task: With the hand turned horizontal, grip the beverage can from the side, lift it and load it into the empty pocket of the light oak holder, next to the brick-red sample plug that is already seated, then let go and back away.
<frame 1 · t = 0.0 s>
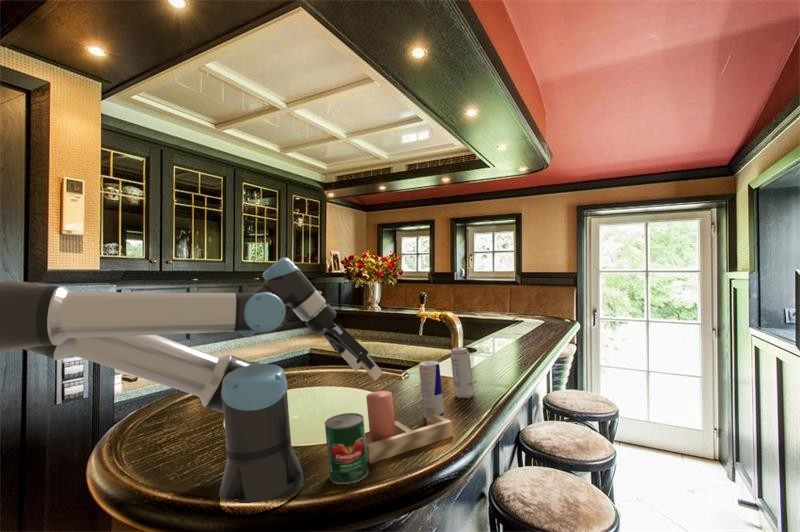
hand: (368, 372, 98), 15 cm above the countertop, tool tilted 35°, fingers open, 13 cm apart
holder: (402, 441, 89), on the countertop
energy drink can: (464, 396, 118), on the countertop
beverage can: (434, 418, 103), on the countertop
canned tomato: (349, 475, 76), on the countertop
sample plug: (383, 447, 87), resting in holder
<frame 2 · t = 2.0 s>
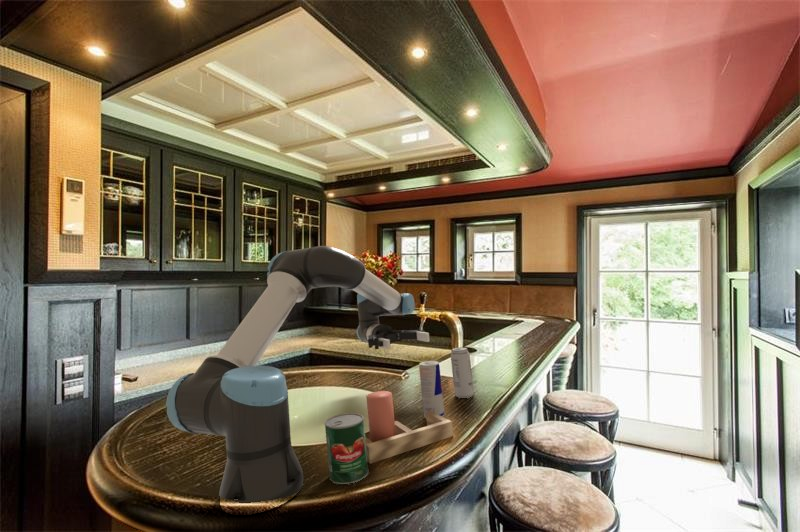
hand: (409, 340, 113), 20 cm above the countertop, tool horizontal, fingers open, 13 cm apart
nothing on the countertop moved.
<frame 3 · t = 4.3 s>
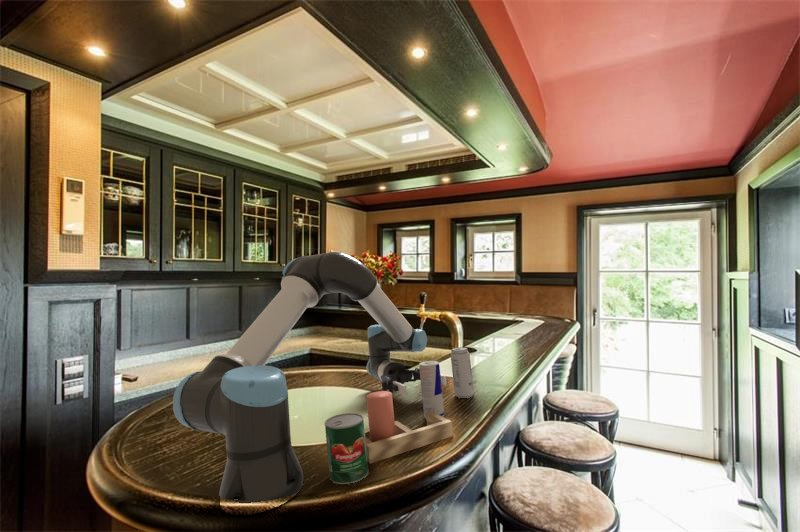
hand: (425, 385, 107), 8 cm above the countertop, tool horizontal, fingers open, 13 cm apart
nothing on the countertop moved.
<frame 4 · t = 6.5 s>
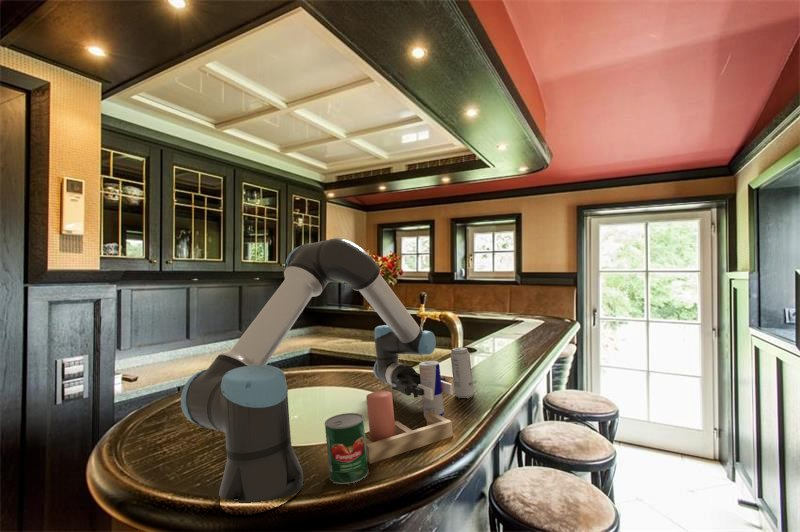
hand: (441, 391, 98), 8 cm above the countertop, tool horizontal, fingers closed on beverage can, 5 cm apart
beverage can: (434, 418, 103), on the countertop, touching gripper
everything else where it was.
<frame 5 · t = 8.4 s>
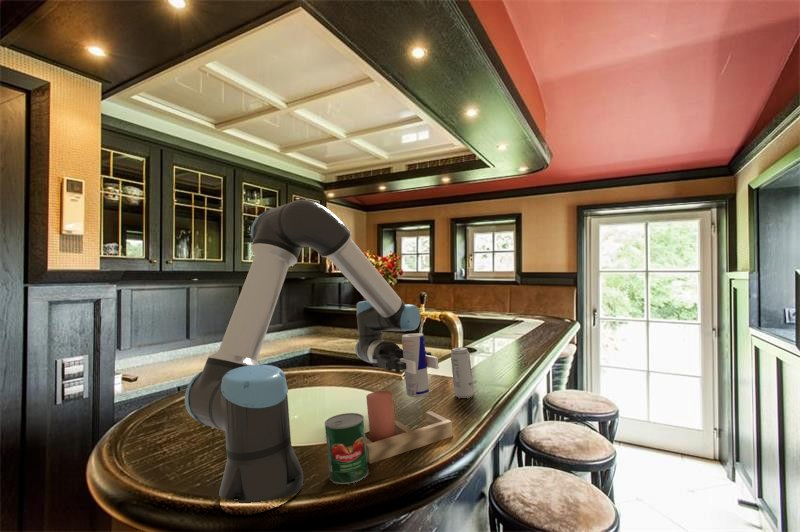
hand: (425, 365, 89), 18 cm above the countertop, tool horizontal, fingers closed on beverage can, 5 cm apart
beverage can: (418, 395, 93), point 9 cm above the countertop, touching gripper
everything else where it was.
when the fingers open (9 cm above the countertop, at t = 10.4 s): beverage can drops 1 cm, resting in holder.
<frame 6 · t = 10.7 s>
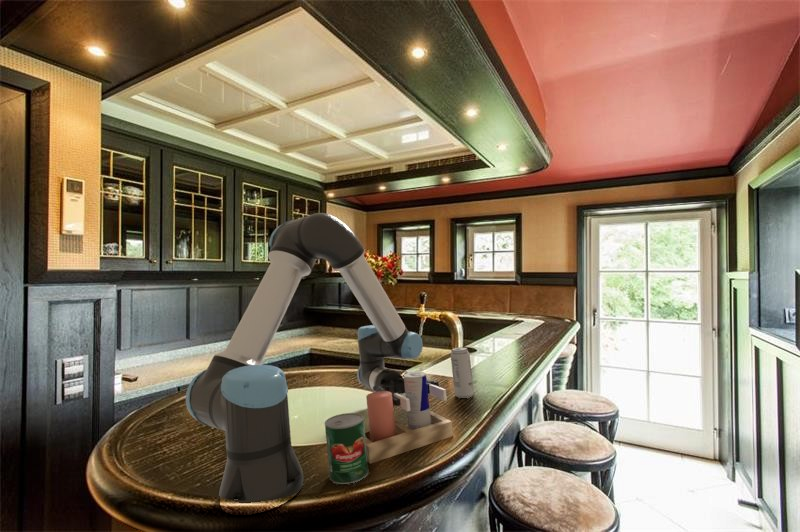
hand: (427, 400, 88), 9 cm above the countertop, tool horizontal, fingers open, 9 cm apart
beverage can: (420, 436, 91), resting in holder
everything else where it was.
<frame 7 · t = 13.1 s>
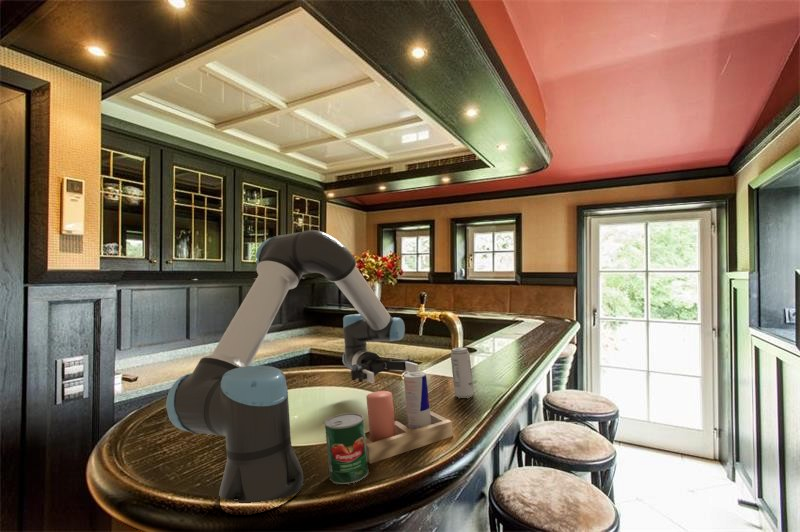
hand: (395, 373, 102), 13 cm above the countertop, tool horizontal, fingers open, 13 cm apart
nothing on the countertop moved.
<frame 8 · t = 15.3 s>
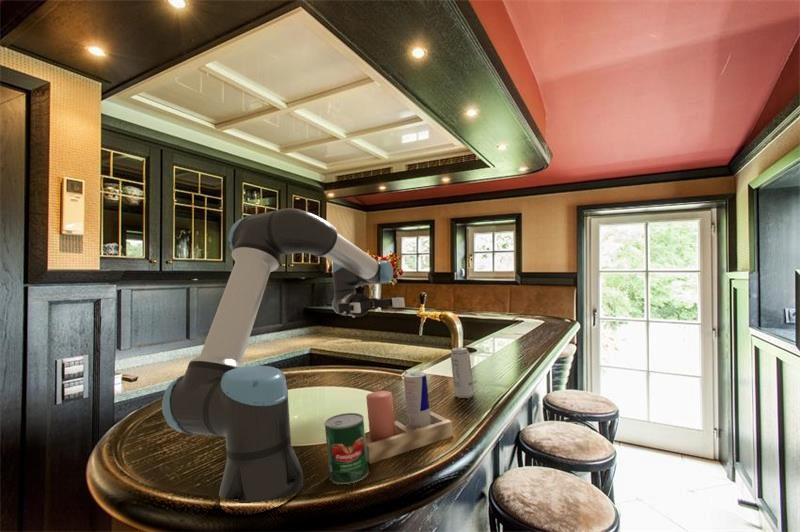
hand: (381, 305, 105), 32 cm above the countertop, tool horizontal, fingers open, 13 cm apart
nothing on the countertop moved.
at the end: beverage can inside the target area (0.0 cm from its centre), resting in holder; beverage can tilted 0°; the gripper is holding nothing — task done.
